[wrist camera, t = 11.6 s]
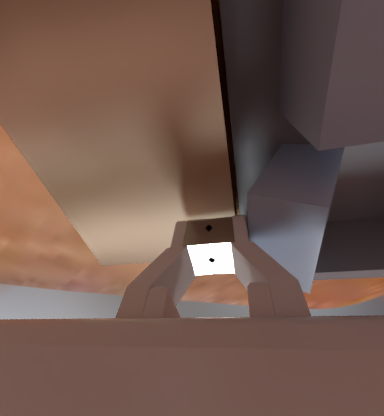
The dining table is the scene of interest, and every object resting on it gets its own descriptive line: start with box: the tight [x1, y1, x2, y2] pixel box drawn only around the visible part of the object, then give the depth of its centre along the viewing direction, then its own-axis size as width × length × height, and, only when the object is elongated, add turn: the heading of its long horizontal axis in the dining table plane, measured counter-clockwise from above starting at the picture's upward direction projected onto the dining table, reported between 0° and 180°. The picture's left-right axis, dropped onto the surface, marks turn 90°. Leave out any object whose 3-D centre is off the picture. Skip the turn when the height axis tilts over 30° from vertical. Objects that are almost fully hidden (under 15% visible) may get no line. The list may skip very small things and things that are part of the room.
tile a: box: [279, 0, 384, 151], centre depth 6 cm, size 4×4×2 cm
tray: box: [219, 0, 384, 280], centre depth 8 cm, size 14×10×4 cm
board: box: [0, 0, 235, 266], centre depth 10 cm, size 12×8×3 cm
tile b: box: [247, 144, 345, 294], centre depth 9 cm, size 4×4×2 cm
